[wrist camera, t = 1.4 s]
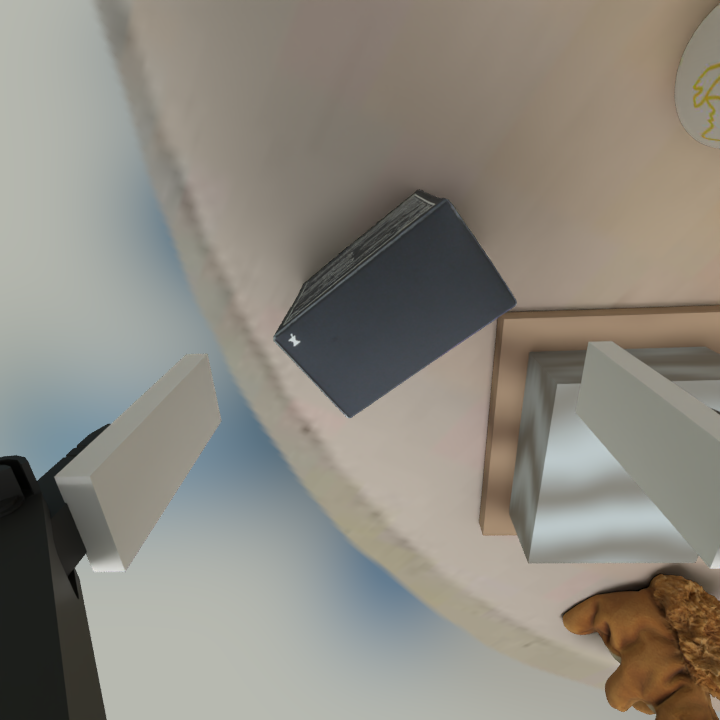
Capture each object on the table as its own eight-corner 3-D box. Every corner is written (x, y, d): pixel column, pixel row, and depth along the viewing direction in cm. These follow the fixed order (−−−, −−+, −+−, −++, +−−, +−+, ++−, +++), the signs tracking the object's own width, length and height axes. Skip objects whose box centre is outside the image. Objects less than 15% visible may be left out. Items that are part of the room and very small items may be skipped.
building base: (498, 312, 30) (528, 346, 24) (729, 304, 29) (819, 337, 23) (479, 522, 38) (498, 586, 32) (660, 520, 37) (713, 586, 31)
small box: (356, 351, 32) (348, 427, 22) (299, 285, 30) (263, 337, 20) (475, 264, 29) (524, 309, 19) (420, 185, 27) (444, 190, 17)
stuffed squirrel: (552, 617, 43) (620, 788, 31) (669, 539, 38) (804, 706, 26) (616, 657, 45) (703, 831, 33) (734, 588, 40) (886, 762, 28)
